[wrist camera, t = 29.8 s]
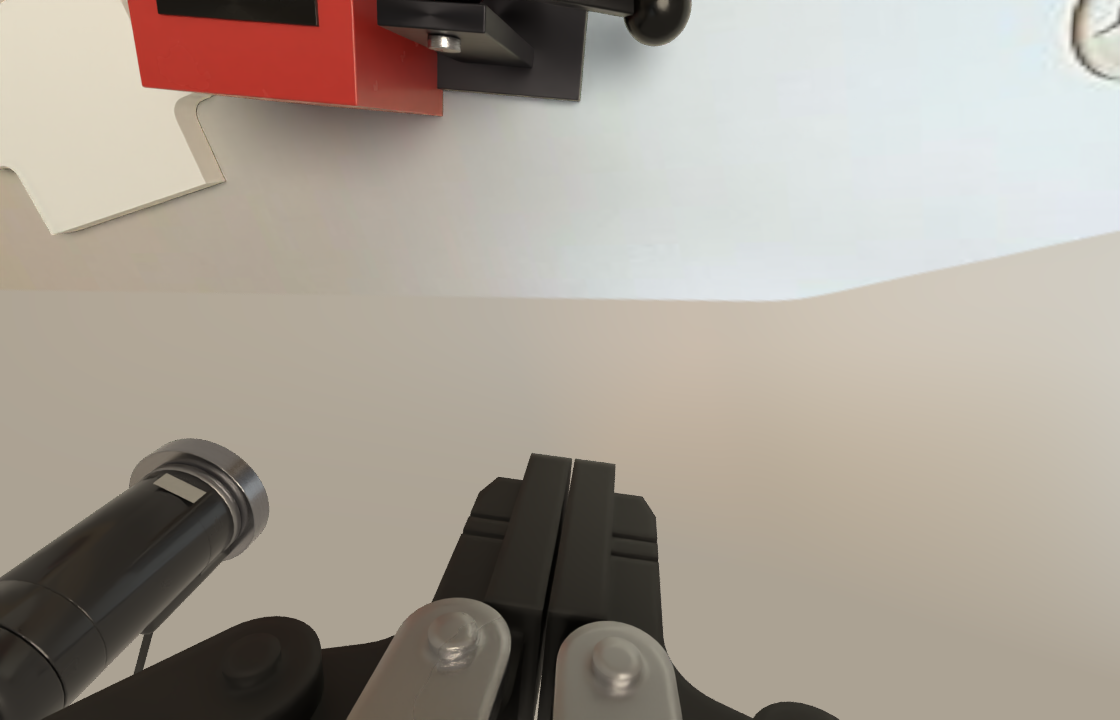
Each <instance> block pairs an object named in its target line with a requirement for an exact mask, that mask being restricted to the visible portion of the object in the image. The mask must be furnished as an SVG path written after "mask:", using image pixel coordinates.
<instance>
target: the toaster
mask: <svg viewBox="0 0 1120 720" xmlns="http://www.w3.org/2000/svg"><path fill="white" fill-rule="evenodd" d="M127 1H128V7H129V12H130V18H131V24H132V30H133V36H134V42H135V48H136V54H137V59H138V65H139V71H140V77H141V83H142V86H143V87H145V88H154V89H163V90H173V91H182V92H191V93H201V94H210V95H220V96H229V97H238V98H248V99H257V100H267V101H276V102H286V103H296V104H307V105H318V106H330V107H341V108H352V109H364V110H375V111H387V112H398V113H409V114H421V115H432V116H443V90H441V89H438V88H437V52H436V51H434V50H431V49H428V48H427V47H425V46H423V45H421V44H419V43H416V42H414V41H412V40H410V39H407V38H405V37H403V36H401V35H398V34H396V33H394V32H392V31H390V30H387V29H385V28H383V27H381V26H379V25H378V24H377V0H127Z"/></svg>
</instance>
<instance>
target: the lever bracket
mask: <svg viewBox="0 0 1120 720" xmlns="http://www.w3.org/2000/svg"><path fill="white" fill-rule="evenodd" d="M587 19H588V11H586V10H580V9H575V8H569V7H564V6H558V5H552V4H547V3H541V2H536V1H530V0H482V1H481V2H479V3H477V4H474V3H460V2H446V1H432V0H377V24H378V25H379V26H381V27H383V28H385V29H387V30H390V31H392V32H394V33H396V34H398V35H401V36H403V37H405V38H407V39H410V40H412V41H414V42H416V43H419V44H421V45H423V46H425V47H427V48H428V49H431V50H434V51H436V52H437V88H438V89H441V90H449V91H461V92H473V93H484V94H496V95H508V96H520V97H532V98H544V99H556V100H567V101H580V99H581V87H582V76H583V65H584V53H585V42H586V30H587Z"/></svg>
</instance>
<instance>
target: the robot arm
mask: <svg viewBox="0 0 1120 720" xmlns="http://www.w3.org/2000/svg"><path fill="white" fill-rule="evenodd" d="M571 465H572V459H571V458H565V457H557V456H549V455H542V454H535V453H532V454H531V456H530V459H529V463H528V466H527V469H526V472H525V475H524V478H523V480H517V479H510V478H502V477H498V478H496V479H495V480H494V481H493V482H492V483H490V484H489V485H488V486H487V487H485V488H484V489H483V490H482V491H480V493H479V494H478V497H477V499H476V501H475V504H474V506H473V508H472V511H471V514H470V516H469V518H468V520H467V522H466V525H465V527H464V529H463V534H461V536H460V538H459V541H458V543H457V545H456V548H455V550H454V552H453V554H452V557H451V559H450V561H449V564H448V566H447V569H446V571H445V573H444V575H443V578H442V580H441V582H440V585H439V587H438V589H437V592H436V594H435V596H434V598H433V601H432V602H431V603H429V604H427V605H425V606H423V607H421V608H419V609H418V610H416V611H415V612H414V613H412V614H411V615H410V616H409V617H408V618H407V619H406V620H405V621H404V622H403V624H402V625H401V626H400V628H399V629H398V631H397V633H396V634H395V635H394V636H391V637H389V638H386V639H383V640H380V641H377V642H371V643H366V644H358V645H350V646H342V647H334V648H326V649H321V646H320V641H319V638H318V636H317V634H316V633H315V631H314V630H313V629H312V628H311V627H310V626H309V625H307V624H306V623H304V622H302V621H300V620H297V619H294V618H289V617H280V616H274V617H263V618H258V619H253V620H250V621H247V622H243V623H241V624H238V625H236V626H234V627H231V628H229V629H227V630H225V631H223V632H221V633H219V634H217V635H215V636H213V637H211V638H209V639H206V640H204V641H202V642H200V643H198V644H196V645H194V646H192V647H190V648H188V649H186V650H184V651H182V652H180V653H178V654H175V655H173V656H171V657H170V658H167V659H165V660H163V661H161V662H159V663H157V664H155V665H153V666H150V667H148V668H146V669H144V670H143V667H144V664H145V660H146V656H147V652H148V649H149V645H150V642H151V638H152V634H153V632H154V631H155V630H156V629H157V628H158V627H159V626H160V625H161V624H162V623H163V622H164V621H165V620H166V619H167V618H168V617H169V616H170V615H171V614H172V613H173V611H174V610H175V609H176V608H177V607H178V606H179V605H180V604H181V603H182V602H183V601H184V600H185V599H186V598H187V597H188V596H189V595H190V594H191V593H192V592H193V591H194V590H195V589H196V588H197V587H198V586H199V585H200V584H201V583H202V582H203V581H204V580H205V579H206V578H207V577H208V575H209V574H210V573H211V572H212V571H213V570H214V569H215V568H216V567H217V566H218V565H219V564H220V563H221V562H222V561H223V560H224V559H225V558H226V557H227V556H228V555H229V554H230V545H231V544H232V543H233V542H234V541H235V539H236V538H237V536H238V534H239V532H240V528H241V516H240V511H239V508H238V505H237V503H236V501H235V499H234V498H233V496H232V495H231V493H230V492H229V491H228V489H227V488H226V487H225V486H224V485H223V484H222V483H221V482H220V481H218V480H217V479H216V478H214V477H213V476H212V475H210V474H208V473H207V472H205V471H203V470H201V469H198V468H196V467H193V466H189V465H184V464H167V465H163V466H160V467H158V468H156V469H154V470H153V471H151V472H150V473H148V474H147V475H146V476H144V477H143V478H142V479H141V480H140V481H139V482H138V483H136V484H135V485H133V486H132V487H130V488H129V489H128V490H126V491H125V492H123V493H122V494H120V495H119V496H117V497H116V498H114V499H113V500H111V501H110V502H108V503H107V504H106V505H104V506H103V507H101V508H100V509H98V510H97V511H95V512H94V513H93V514H91V515H90V516H88V517H87V518H85V519H84V520H83V521H81V522H80V523H78V524H77V525H75V526H74V527H72V528H71V529H70V530H68V531H67V532H65V533H64V534H62V535H61V536H60V537H58V538H57V539H55V540H54V541H53V542H51V543H49V544H48V545H46V546H45V547H44V548H42V549H41V550H39V551H38V552H37V553H35V554H33V555H32V556H31V557H29V558H28V559H26V560H25V561H23V562H22V563H21V564H19V565H18V566H16V567H15V568H13V569H12V570H11V571H9V572H8V573H6V574H5V575H3V576H2V577H1V578H0V720H534V716H535V710H536V704H537V699H538V693H539V687H540V681H541V687H540V688H541V689H540V698H539V708H538V719H537V720H839V719H838V718H836V717H835V716H833V715H831V714H829V713H827V712H825V711H823V710H821V709H818V708H816V707H813V706H810V705H806V704H803V703H796V702H779V703H775V704H771V705H769V706H767V707H765V708H763V709H762V710H761V711H759V712H758V713H757V714H756V715H755V717H754V718H751V717H749V716H747V715H745V714H743V713H740V712H738V711H736V710H734V709H732V708H730V707H727V706H725V705H723V704H721V703H719V702H717V701H715V700H713V699H711V698H709V697H708V696H706V695H704V694H703V693H701V692H700V691H699V690H697V689H696V688H694V687H693V686H692V685H691V684H690V683H689V682H687V681H686V680H685V679H684V677H683V676H682V675H681V674H680V673H679V672H678V670H677V669H676V668H675V666H674V665H673V663H672V662H671V660H670V658H669V656H668V654H667V651H666V648H665V645H664V639H663V626H662V610H661V594H660V577H659V563H658V545H657V529H656V517H655V515H654V514H653V512H652V510H651V509H650V508H649V506H648V504H647V503H646V501H645V500H644V498H643V497H641V496H634V495H627V494H619V493H614V482H615V481H614V480H615V464H610V463H603V462H596V461H588V460H581V459H575V462H574V468H573V474H572V479H571V485H570V475H571ZM569 485H570V490H569ZM568 495H569V496H568ZM139 634H144V637H143V641H142V645H141V648H140V652H139V656H138V660H137V664H136V667H135V671H134V675H132V676H130V677H128V678H126V679H123V680H122V681H119V682H117V683H115V684H113V685H111V686H109V687H107V688H105V689H103V690H101V691H99V692H97V693H94V694H92V695H90V696H88V697H86V698H84V699H82V700H80V701H78V702H76V703H74V704H72V705H70V704H71V703H72V702H73V701H74V700H75V699H76V698H77V697H78V696H79V695H80V694H81V692H83V691H84V690H85V689H86V687H88V685H90V684H91V683H92V682H93V681H94V680H95V679H96V677H98V675H99V674H100V673H101V672H102V671H103V670H104V669H105V668H106V667H107V666H108V665H109V664H110V663H111V662H112V661H113V660H114V659H115V658H116V657H117V656H118V655H119V654H120V653H121V652H122V651H123V650H124V649H125V648H126V647H127V646H128V645H129V644H130V643H131V642H132V641H133V640H134V639H135V638H136V637H137V636H138V635H139ZM541 675H542V677H541ZM69 705H70V706H69Z"/></svg>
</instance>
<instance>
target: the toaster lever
mask: <svg viewBox="0 0 1120 720" xmlns="http://www.w3.org/2000/svg"><path fill="white" fill-rule="evenodd" d="M432 1H446V2H460V3H474V4H477V3H479V2H481V1H482V0H432ZM530 1H536V2H541V3H547V4H552V5H558V6H564V7H569V8H575V9H580V10H586V11H592V12H597V13H603V14H608V15H614V16H619V17H623V18H624V22H625V25H626V27H627V29H628V31H629V33H630V34H631V35H632V37H633V38H634V39H636V40H637V41H638V42H640V43H642V44H644V45H648V46H661V45H664V44H667V43H669V42H671V41H672V40H674V39H675V38H676V37H677V36H678V35H679V34H680V33H681V32H682V31H683V29H684V28H685V26H686V24H687V22H688V20H689V17H690V13H691V6H692V0H530Z"/></svg>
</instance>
